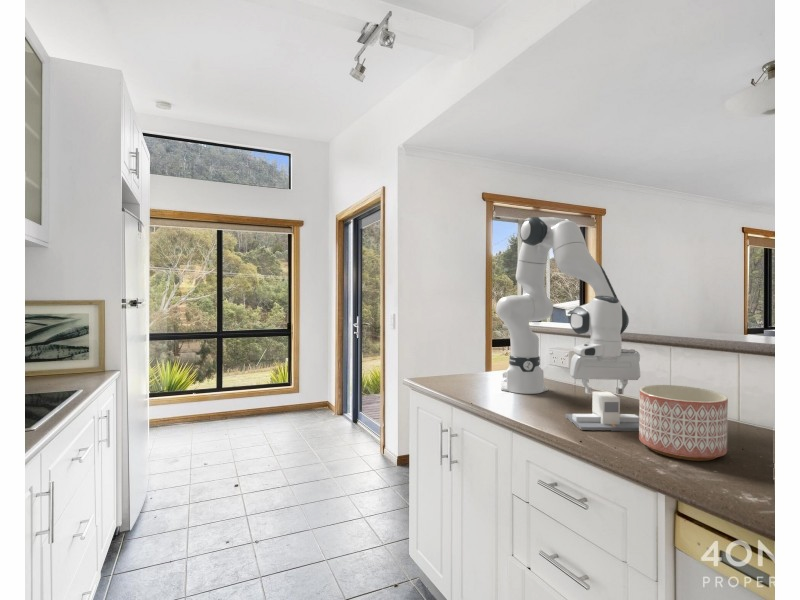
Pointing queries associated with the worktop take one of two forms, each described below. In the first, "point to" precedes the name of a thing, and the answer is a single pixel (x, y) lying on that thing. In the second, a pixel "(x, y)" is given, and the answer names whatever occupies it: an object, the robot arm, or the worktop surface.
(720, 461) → the worktop surface
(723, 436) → the planter
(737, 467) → the worktop surface
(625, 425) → the rail panel
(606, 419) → the block
